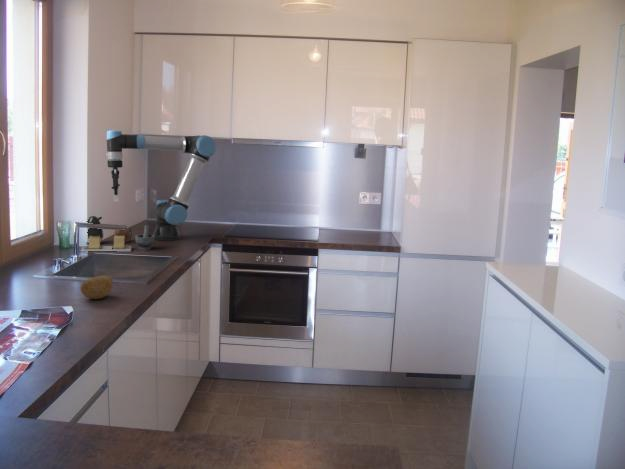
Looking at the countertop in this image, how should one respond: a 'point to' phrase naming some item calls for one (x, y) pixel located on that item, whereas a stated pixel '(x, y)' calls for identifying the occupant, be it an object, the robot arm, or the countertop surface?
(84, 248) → the rack rail
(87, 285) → the potato
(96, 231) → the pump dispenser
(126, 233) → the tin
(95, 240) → the pale yellow block
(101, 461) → the countertop surface
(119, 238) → the nut block
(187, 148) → the robot arm
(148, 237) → the mortar and pestle
